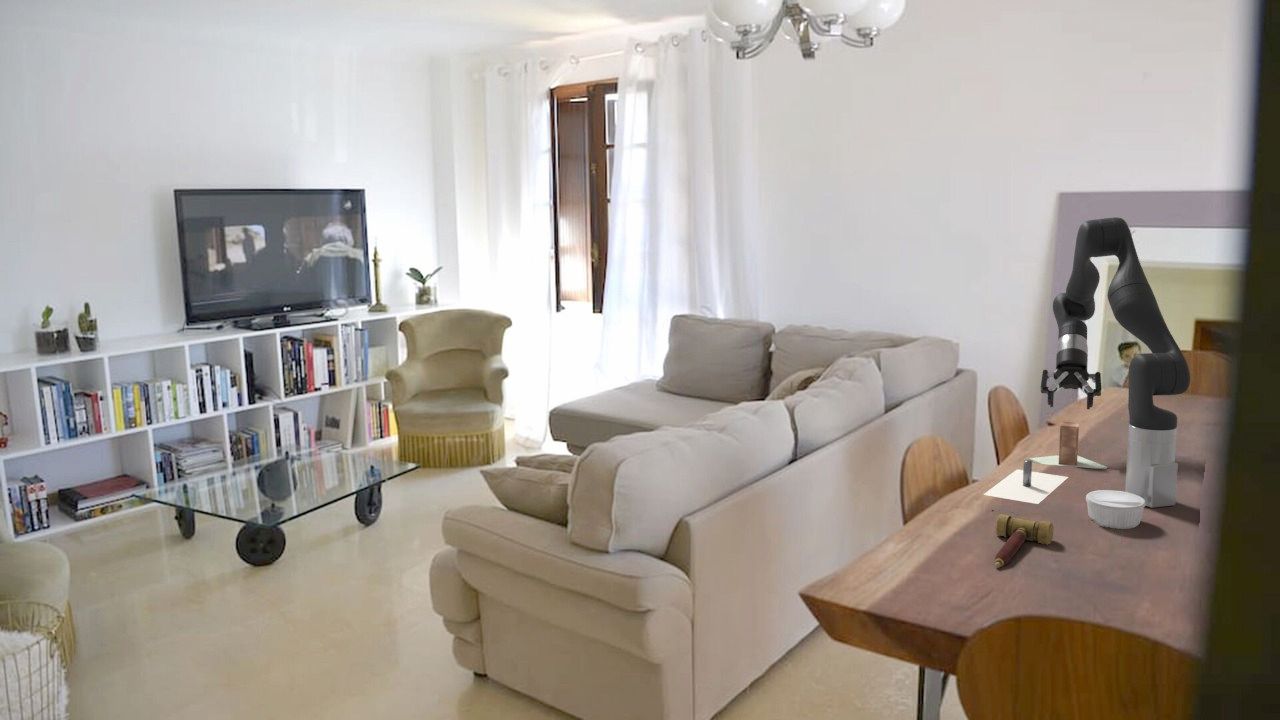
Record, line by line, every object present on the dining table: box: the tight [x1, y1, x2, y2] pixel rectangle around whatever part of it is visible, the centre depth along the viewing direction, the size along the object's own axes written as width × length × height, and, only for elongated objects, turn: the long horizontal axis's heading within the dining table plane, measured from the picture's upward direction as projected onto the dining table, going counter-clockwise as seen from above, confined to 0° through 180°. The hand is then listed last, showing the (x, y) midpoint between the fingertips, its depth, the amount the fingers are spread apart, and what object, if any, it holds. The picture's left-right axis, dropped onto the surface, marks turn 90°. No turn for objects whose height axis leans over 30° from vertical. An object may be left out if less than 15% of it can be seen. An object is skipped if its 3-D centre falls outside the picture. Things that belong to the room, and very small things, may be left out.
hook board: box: [982, 459, 1069, 505], centre depth 218 cm, size 24×12×7 cm, turn 141°
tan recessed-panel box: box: [1058, 421, 1080, 465], centre depth 237 cm, size 4×4×10 cm
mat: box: [1028, 454, 1109, 470], centre depth 238 cm, size 13×13×1 cm
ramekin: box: [1085, 489, 1146, 530], centre depth 196 cm, size 11×11×5 cm
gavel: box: [994, 513, 1054, 569], centre depth 182 cm, size 21×5×10 cm
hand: (1070, 406), depth 240 cm, fingers open, 8 cm apart
